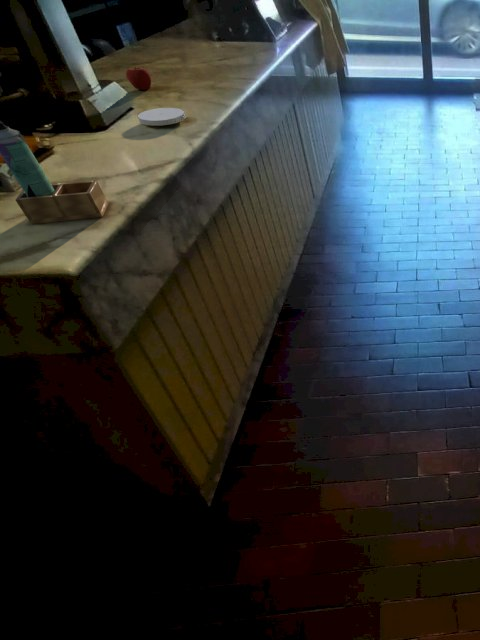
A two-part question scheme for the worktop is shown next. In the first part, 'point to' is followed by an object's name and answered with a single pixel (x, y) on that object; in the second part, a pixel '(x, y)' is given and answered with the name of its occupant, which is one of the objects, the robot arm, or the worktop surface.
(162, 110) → the plastic lid
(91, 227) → the worktop surface
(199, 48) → the worktop surface
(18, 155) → the spray can
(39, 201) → the box
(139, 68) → the apple
